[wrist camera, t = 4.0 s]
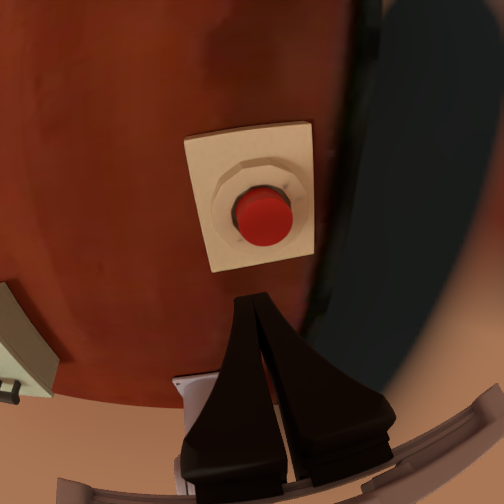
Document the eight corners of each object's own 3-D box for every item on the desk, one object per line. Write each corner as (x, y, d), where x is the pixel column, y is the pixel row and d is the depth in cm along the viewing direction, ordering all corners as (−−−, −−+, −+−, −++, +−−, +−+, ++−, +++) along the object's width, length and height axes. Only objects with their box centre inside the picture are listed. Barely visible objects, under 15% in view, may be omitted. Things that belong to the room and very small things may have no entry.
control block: (308, 244, 23) (321, 265, 21) (210, 262, 23) (212, 286, 20) (304, 120, 18) (321, 127, 15) (184, 136, 17) (181, 145, 14)
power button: (286, 228, 19) (294, 242, 17) (239, 237, 19) (242, 251, 17) (284, 183, 17) (292, 193, 16) (232, 191, 17) (235, 202, 15)
